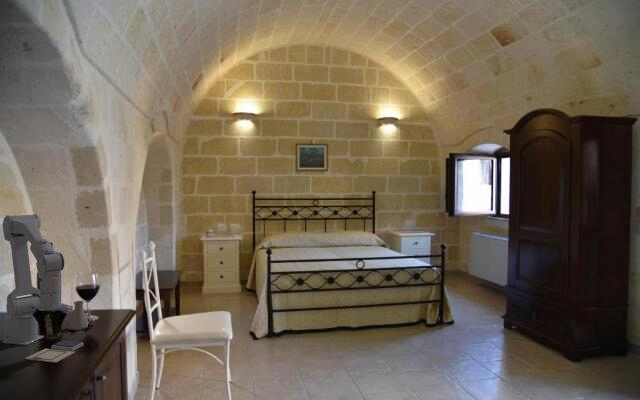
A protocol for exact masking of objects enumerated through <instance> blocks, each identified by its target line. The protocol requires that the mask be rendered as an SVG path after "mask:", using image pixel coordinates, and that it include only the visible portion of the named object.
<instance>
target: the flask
mask: <svg viewBox="0 0 640 400" xmlns="http://www.w3.org/2000/svg"><path fill="white" fill-rule="evenodd" d="M84 302H85V301H84V300H77V301H74V302H73V304H74V309H73V312H72V315H71V318H70V320H69V323H68V325H67V330H71V331H81V330H85V329H87V328H89V327H88V323H89V324H90V322H89V320H88V318H87V316H86V313H85V310H84V309H85V308H84Z"/></svg>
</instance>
